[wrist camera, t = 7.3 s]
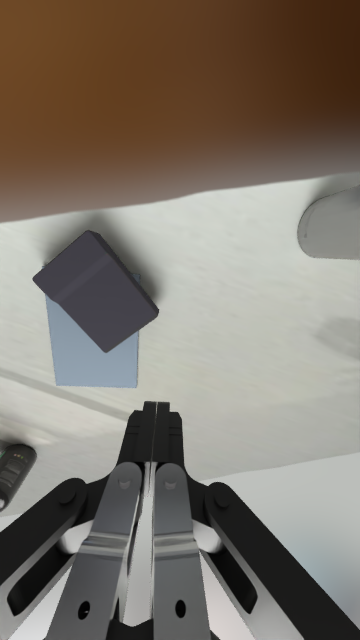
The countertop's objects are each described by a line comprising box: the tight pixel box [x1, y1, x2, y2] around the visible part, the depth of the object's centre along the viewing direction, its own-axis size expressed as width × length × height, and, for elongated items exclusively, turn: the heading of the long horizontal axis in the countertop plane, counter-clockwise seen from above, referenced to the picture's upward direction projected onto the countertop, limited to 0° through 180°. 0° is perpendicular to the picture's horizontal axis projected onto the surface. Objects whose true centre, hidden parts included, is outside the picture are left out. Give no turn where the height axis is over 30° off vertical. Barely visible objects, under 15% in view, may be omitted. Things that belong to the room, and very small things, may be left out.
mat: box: [42, 266, 140, 388], centre depth 35 cm, size 15×22×1 cm
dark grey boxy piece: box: [33, 231, 159, 353], centre depth 31 cm, size 11×4×15 cm
